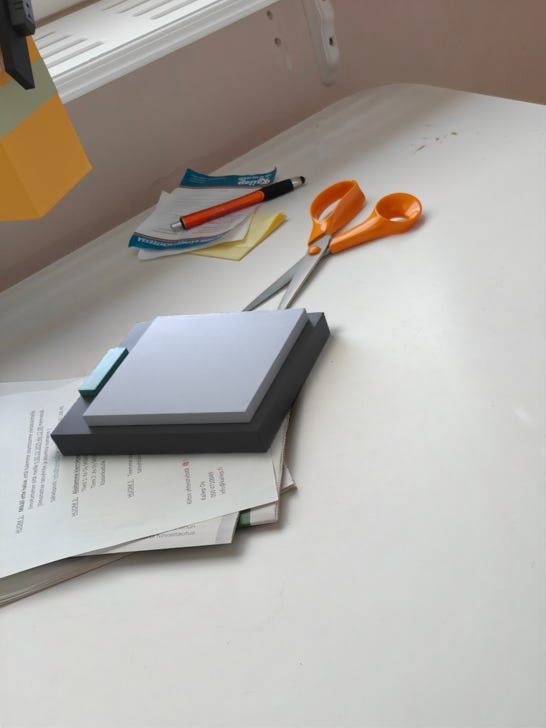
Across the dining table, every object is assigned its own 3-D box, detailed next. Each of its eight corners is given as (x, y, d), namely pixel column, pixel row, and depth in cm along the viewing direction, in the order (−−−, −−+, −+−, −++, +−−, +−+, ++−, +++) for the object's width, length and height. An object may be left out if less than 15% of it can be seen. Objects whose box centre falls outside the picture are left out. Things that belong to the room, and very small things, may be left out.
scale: (62, 455, 76) (42, 424, 74) (146, 341, 86) (131, 311, 84) (266, 452, 71) (252, 419, 69) (330, 332, 81) (320, 300, 79)
